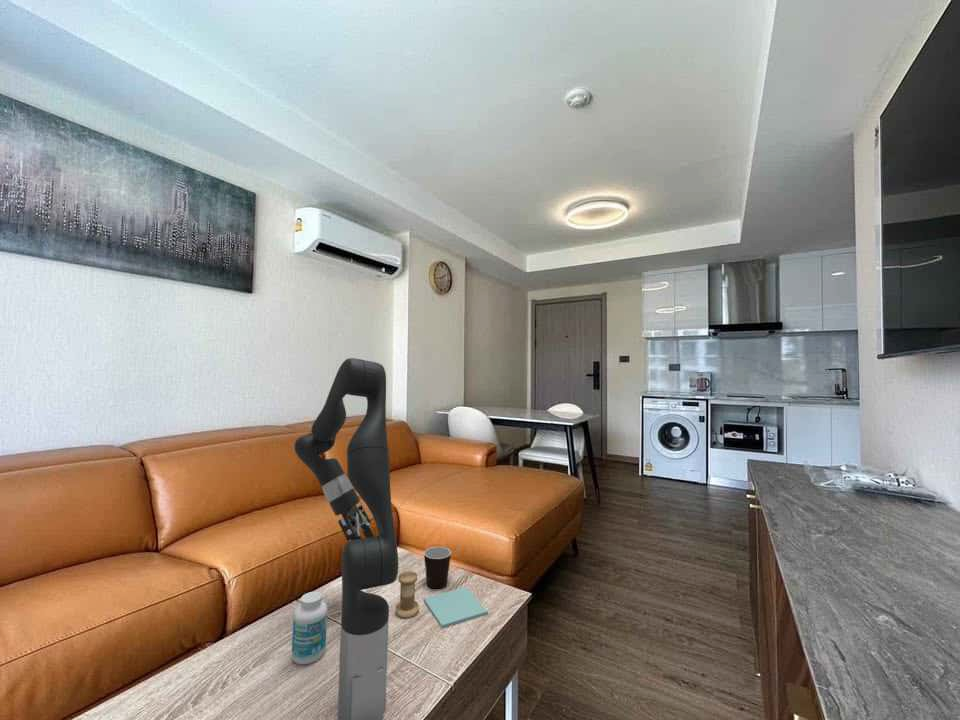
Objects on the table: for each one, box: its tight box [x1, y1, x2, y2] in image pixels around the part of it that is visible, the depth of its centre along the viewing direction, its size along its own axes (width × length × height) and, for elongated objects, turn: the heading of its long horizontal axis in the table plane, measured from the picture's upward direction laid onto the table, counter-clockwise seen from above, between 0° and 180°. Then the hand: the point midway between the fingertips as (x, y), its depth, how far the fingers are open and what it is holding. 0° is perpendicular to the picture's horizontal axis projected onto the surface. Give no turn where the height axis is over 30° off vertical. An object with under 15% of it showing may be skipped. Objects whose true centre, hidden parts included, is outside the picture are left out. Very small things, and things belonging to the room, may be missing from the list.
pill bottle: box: [291, 591, 328, 665], centre depth 93 cm, size 8×7×14 cm
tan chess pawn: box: [394, 570, 420, 620], centre depth 110 cm, size 6×6×10 cm
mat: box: [422, 586, 489, 629], centre depth 113 cm, size 14×14×1 cm
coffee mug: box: [423, 546, 452, 591], centre depth 127 cm, size 12×9×10 cm
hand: (367, 545), depth 110 cm, fingers open, 8 cm apart
